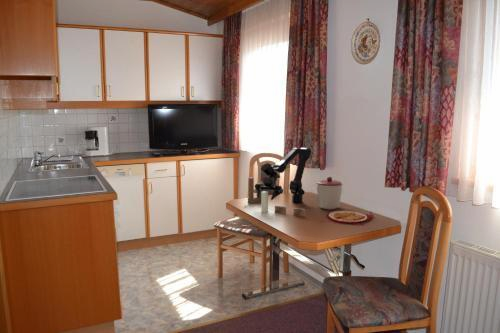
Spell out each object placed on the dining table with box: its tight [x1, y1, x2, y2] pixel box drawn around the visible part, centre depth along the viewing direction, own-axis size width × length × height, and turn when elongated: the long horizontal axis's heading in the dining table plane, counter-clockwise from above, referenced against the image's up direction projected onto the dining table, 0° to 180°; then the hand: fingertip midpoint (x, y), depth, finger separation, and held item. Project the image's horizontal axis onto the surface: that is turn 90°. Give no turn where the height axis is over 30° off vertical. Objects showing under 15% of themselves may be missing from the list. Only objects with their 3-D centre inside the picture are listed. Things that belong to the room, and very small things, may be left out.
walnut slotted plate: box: [274, 205, 306, 218], centre depth 255 cm, size 20×2×4 cm, turn 62°
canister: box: [315, 176, 344, 210], centre depth 270 cm, size 18×18×21 cm
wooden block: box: [247, 177, 264, 204], centre depth 287 cm, size 4×11×18 cm, turn 116°
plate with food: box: [321, 209, 374, 226], centre depth 245 cm, size 25×26×4 cm
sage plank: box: [260, 190, 269, 213], centre depth 262 cm, size 4×3×13 cm
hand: (264, 199), depth 262 cm, fingers open, 9 cm apart
